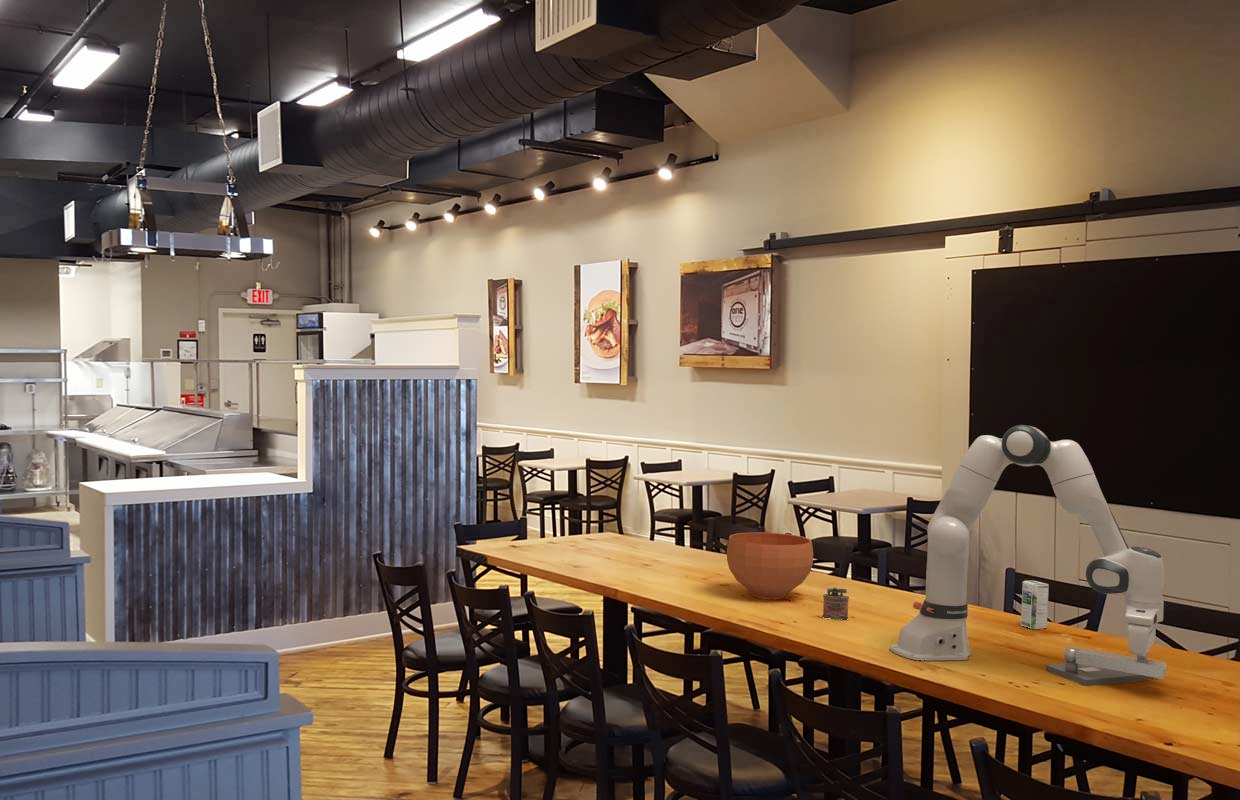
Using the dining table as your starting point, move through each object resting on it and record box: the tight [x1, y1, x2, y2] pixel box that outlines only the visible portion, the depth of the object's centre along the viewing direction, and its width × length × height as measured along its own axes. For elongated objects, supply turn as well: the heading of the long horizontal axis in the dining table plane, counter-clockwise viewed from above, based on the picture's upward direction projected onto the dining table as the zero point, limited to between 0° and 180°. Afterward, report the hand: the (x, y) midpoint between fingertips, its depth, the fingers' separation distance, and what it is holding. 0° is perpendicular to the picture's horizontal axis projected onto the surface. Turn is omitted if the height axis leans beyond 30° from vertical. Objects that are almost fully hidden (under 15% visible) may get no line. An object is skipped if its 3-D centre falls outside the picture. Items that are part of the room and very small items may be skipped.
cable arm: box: [1064, 646, 1167, 679], centre depth 257 cm, size 23×5×3 cm, turn 53°
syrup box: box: [1020, 580, 1050, 630], centre depth 318 cm, size 6×6×14 cm
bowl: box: [726, 531, 814, 600], centre depth 355 cm, size 30×30×20 cm
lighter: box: [822, 586, 850, 621], centre depth 323 cm, size 8×3×10 cm, turn 76°
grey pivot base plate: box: [1045, 660, 1155, 687], centre depth 266 cm, size 24×14×4 cm, turn 110°
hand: (1142, 665), depth 256 cm, fingers closed
